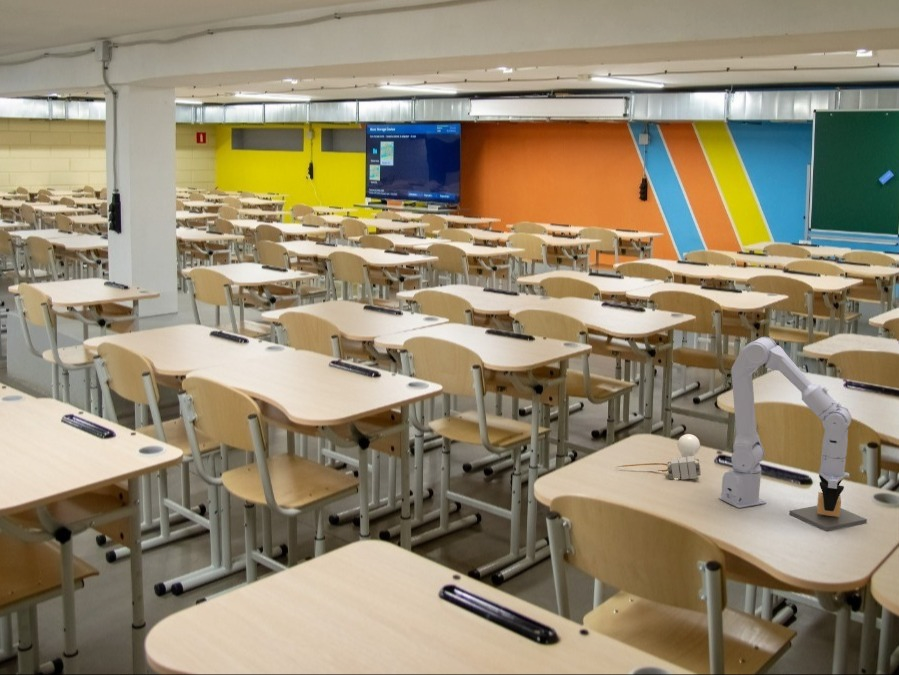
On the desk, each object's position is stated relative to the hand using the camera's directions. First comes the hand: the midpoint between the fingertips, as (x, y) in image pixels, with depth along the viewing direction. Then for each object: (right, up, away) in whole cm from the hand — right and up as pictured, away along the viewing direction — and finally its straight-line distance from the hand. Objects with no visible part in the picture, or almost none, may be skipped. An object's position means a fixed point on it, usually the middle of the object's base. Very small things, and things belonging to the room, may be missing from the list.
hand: (828, 506), depth 236 cm
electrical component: (-37, +3, +31) cm, 49 cm away
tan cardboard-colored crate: (0, -1, 0) cm, 1 cm away
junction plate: (0, -3, +1) cm, 3 cm away
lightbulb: (-27, +4, +36) cm, 45 cm away
